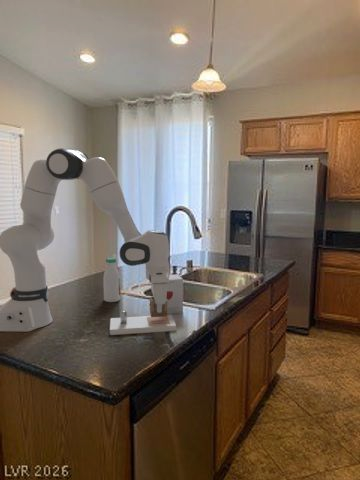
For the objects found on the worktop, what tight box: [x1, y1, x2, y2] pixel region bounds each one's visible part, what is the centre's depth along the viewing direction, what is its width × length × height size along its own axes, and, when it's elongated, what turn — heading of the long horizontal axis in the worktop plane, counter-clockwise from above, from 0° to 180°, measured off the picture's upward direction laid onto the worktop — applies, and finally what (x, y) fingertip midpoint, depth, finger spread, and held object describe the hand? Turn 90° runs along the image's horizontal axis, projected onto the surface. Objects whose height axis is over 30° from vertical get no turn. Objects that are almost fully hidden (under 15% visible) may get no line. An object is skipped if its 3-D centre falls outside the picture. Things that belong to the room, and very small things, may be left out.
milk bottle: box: [102, 257, 122, 303], centre depth 173 cm, size 8×8×20 cm
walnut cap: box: [149, 296, 168, 317], centre depth 140 cm, size 6×6×6 cm
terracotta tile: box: [147, 316, 170, 325], centre depth 141 cm, size 8×8×1 cm
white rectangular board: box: [109, 314, 177, 336], centre depth 140 cm, size 24×12×2 cm, turn 99°
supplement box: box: [166, 274, 184, 315], centre depth 157 cm, size 9×9×15 cm
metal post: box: [119, 309, 128, 324], centre depth 138 cm, size 2×2×4 cm
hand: (158, 308), depth 140 cm, fingers closed on walnut cap, 6 cm apart
